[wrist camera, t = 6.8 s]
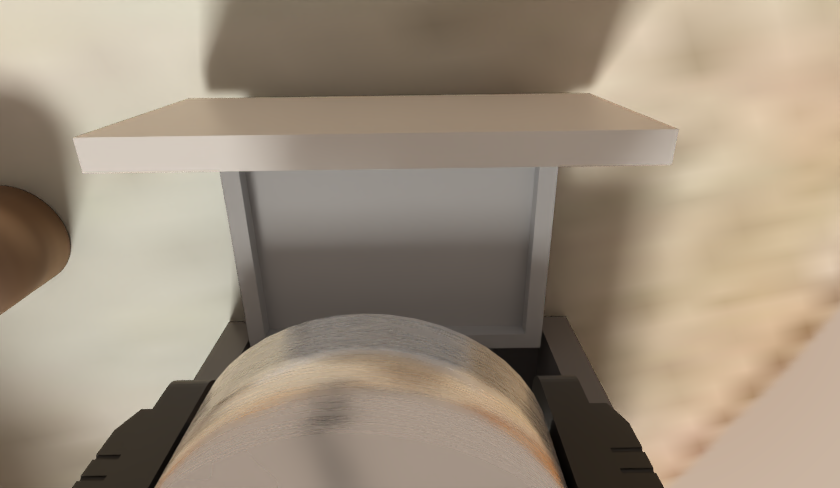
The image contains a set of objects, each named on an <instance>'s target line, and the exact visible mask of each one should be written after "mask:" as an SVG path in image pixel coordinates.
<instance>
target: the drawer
mask: <svg viewBox="0 0 840 488" xmlns="http://www.w3.org/2000/svg"><path fill="white" fill-rule="evenodd" d="M678 130H679V129H677V128H674V127H672V126H669V125H667V124H664V123H662V122H659V121H657V120H654V119H652V118H650V117H647V116H645V115H642V114H640V113H637V112H635V111H632V110H630V109H627V108H625V107H622V106H620V105H617V104H615V103H612V102H610V101H607V100H605V99H602V98H600V97H597V96H595V95H592V94H590V93H554V94H480V95H405V96H331V97H257V98H188V99H185V100H182V101H179V102H176V103H173V104H170V105H167V106H165V107H162V108H159V109H156V110H153V111H150V112H147V113H144V114H141V115H138V116H135V117H132V118H129V119H126V120H123V121H120V122H117V123H114V124H111V125H108V126H105V127H103V128H100V129H97V130H94V131H91V132H88V133H85V134H82V135H79V136H76V137H73V142H74V145H75V149H76V152H77V156H78V159H79V163H80V166H81V170H82V173H83V174H85V173H155V172H220V176H221V182H222V187H223V193H224V199H225V205H226V210H227V216H228V222H229V228H230V233H231V239H232V245H233V251H234V256H235V262H236V268H237V274H238V279H239V285H240V291H241V297H242V302H243V308H244V314H245V319H246V325H247V331H248V337H249V342H250V348H251V347H252V346H254V345H255V344H257V343H259V342H260V341H262V340H263V339H265V338H267V337H269V336H271V335H273V334H276V333H278V332H280V331H282V330H284V329H286V328H289V327H292V326H295V325H299V324H302V323H305V322H308V321H311V320H316V319H322V318H327V317H332V316H338V315H352V314H383V315H395V316H401V317H408V318H414V319H419V320H423V321H426V322H430V323H433V324H437V325H441V326H444V327H446V328H448V329H451V330H453V331H456V332H458V333H461V334H463V335H466V336H467V337H469V338H471V339H473V340H474V341H476V342H478V343H480V344H482V345H483V346H485V347H487V348H538V347H540V345H541V335H542V325H543V315H544V305H545V295H546V285H547V275H548V265H549V255H550V245H551V235H552V225H553V215H554V205H555V195H556V185H557V175H558V167H571V166H641V165H672V162H673V156H674V151H675V146H676V141H677V136H678Z"/></svg>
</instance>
